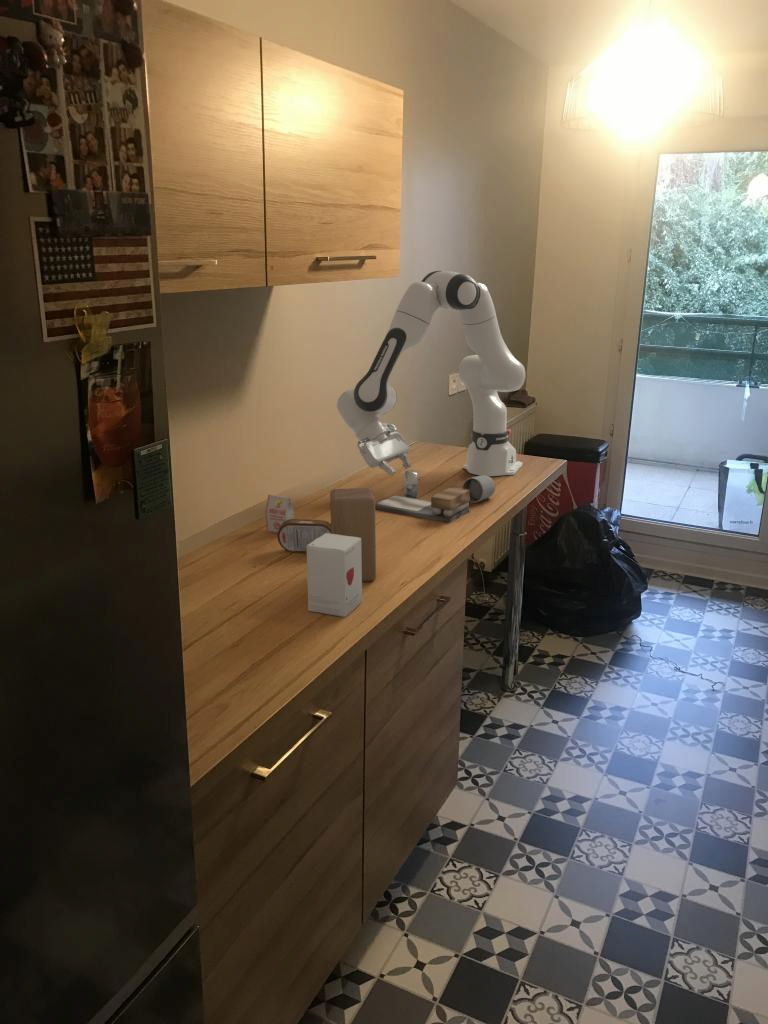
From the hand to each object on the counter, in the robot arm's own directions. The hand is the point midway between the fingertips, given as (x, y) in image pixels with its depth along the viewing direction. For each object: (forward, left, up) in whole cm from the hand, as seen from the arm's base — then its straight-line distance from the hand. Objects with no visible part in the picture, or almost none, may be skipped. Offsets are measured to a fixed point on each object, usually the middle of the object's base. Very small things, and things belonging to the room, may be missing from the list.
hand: (400, 470), depth 257 cm
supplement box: (+79, +32, -8) cm, 85 cm away
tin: (+55, +6, -8) cm, 56 cm away
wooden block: (+62, +25, -8) cm, 67 cm away
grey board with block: (+10, +13, -8) cm, 18 cm away
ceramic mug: (-8, +21, -8) cm, 24 cm away
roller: (0, +4, -8) cm, 9 cm away
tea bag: (+46, -10, -8) cm, 48 cm away
